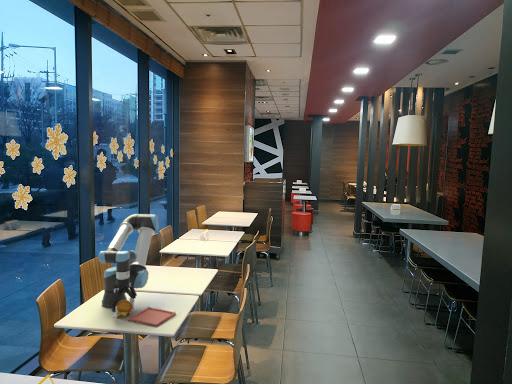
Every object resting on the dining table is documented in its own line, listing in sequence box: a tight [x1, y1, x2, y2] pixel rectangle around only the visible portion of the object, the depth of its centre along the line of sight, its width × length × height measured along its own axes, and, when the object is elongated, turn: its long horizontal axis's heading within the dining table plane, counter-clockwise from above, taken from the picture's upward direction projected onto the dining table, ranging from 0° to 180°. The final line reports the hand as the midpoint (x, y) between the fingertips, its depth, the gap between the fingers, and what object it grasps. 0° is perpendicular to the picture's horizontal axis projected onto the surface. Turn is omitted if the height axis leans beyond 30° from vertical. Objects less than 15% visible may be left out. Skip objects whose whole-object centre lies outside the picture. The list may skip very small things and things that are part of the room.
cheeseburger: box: [116, 299, 133, 318], centre depth 219 cm, size 10×11×10 cm
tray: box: [127, 307, 177, 328], centre depth 216 cm, size 20×18×2 cm
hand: (123, 312), depth 219 cm, fingers open, 13 cm apart
